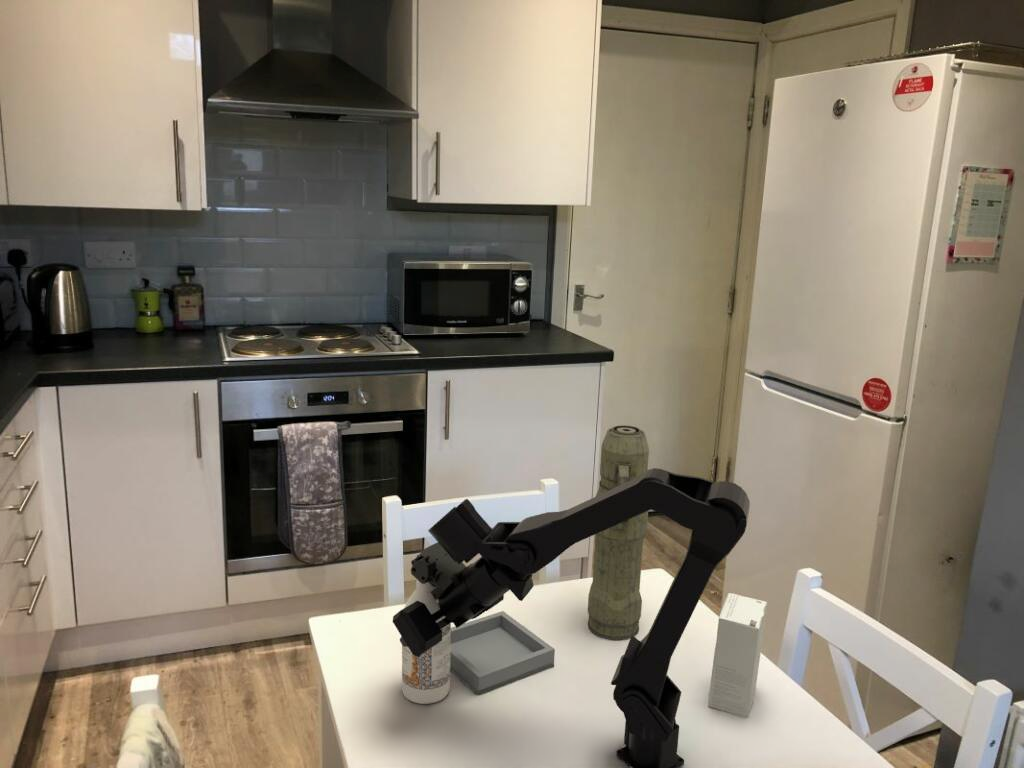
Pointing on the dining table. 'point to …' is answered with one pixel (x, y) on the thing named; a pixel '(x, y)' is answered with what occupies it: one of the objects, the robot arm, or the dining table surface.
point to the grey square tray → (496, 652)
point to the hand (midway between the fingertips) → (419, 632)
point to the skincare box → (737, 654)
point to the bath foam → (427, 658)
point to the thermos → (619, 542)
